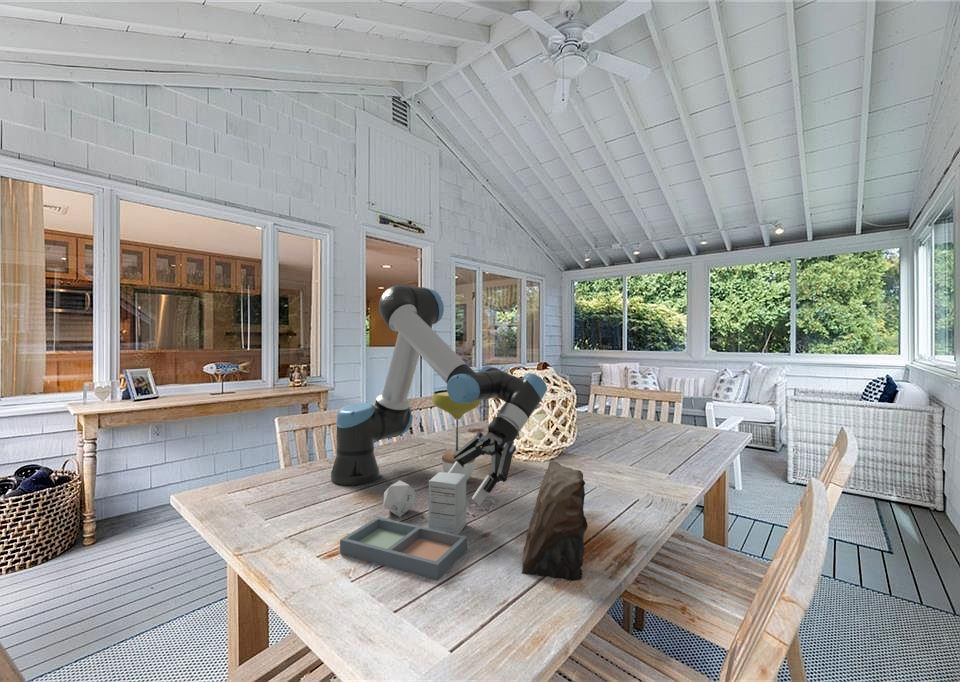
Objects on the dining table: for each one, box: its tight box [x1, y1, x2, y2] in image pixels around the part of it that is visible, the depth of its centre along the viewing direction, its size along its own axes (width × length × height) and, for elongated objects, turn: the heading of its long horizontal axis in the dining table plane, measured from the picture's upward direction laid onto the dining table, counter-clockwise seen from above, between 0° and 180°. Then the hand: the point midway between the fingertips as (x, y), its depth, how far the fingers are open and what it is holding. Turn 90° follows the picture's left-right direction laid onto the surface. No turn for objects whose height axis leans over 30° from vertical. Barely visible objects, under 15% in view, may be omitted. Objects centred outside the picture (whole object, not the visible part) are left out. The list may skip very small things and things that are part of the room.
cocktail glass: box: [432, 389, 482, 452], centre depth 166 cm, size 18×18×25 cm
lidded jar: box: [441, 451, 476, 482], centre depth 144 cm, size 11×11×9 cm
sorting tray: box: [339, 516, 468, 581], centre depth 96 cm, size 24×13×3 cm, turn 66°
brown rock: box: [521, 460, 589, 582], centre depth 91 cm, size 13×13×20 cm
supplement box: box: [428, 471, 467, 535], centre depth 108 cm, size 7×7×13 cm
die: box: [383, 479, 417, 518], centre depth 117 cm, size 8×9×10 cm
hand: (459, 493), depth 108 cm, fingers open, 13 cm apart
